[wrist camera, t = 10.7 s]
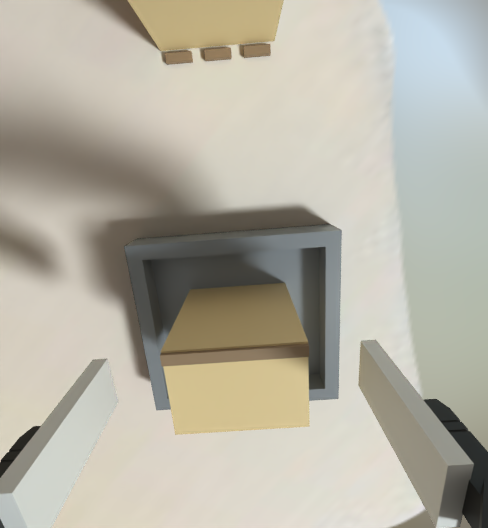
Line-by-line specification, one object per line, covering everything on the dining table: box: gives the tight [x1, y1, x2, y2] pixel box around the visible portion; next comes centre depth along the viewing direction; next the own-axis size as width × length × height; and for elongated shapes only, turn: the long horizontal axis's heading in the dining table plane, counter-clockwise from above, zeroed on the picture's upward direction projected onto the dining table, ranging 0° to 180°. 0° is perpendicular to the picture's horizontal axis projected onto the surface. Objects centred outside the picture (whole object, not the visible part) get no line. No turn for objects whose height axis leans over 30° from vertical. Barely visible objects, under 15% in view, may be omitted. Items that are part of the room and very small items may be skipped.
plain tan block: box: [160, 283, 309, 435], centre depth 18 cm, size 5×7×8 cm
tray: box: [124, 224, 342, 410], centre depth 22 cm, size 13×14×2 cm
